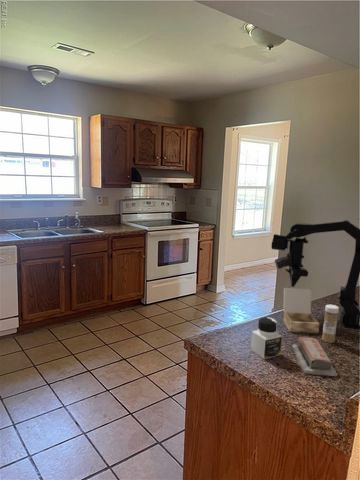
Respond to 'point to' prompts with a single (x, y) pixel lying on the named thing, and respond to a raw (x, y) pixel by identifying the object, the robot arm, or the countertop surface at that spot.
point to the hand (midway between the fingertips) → (292, 286)
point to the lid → (297, 300)
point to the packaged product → (313, 357)
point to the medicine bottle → (266, 339)
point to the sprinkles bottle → (330, 323)
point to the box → (301, 322)
